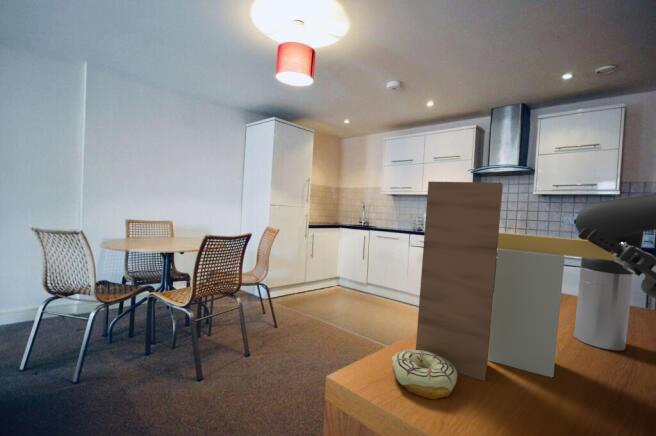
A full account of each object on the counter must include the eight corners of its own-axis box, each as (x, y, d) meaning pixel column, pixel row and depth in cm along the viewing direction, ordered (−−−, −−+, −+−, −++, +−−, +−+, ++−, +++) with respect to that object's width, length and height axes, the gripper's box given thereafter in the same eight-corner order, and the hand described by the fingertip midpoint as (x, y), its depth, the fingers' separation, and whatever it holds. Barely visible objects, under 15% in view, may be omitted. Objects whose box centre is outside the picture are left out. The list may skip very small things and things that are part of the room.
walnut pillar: (423, 347, 66) (436, 184, 65) (487, 364, 60) (502, 186, 59) (414, 360, 60) (428, 181, 59) (484, 381, 54) (501, 182, 53)
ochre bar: (485, 245, 67) (487, 231, 67) (612, 258, 57) (614, 242, 57) (484, 246, 64) (486, 231, 64) (617, 260, 54) (619, 243, 54)
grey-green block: (490, 345, 69) (498, 245, 68) (548, 360, 64) (558, 252, 63) (488, 360, 62) (497, 249, 61) (553, 377, 57) (564, 256, 56)
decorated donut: (393, 397, 48) (394, 373, 48) (389, 362, 59) (390, 342, 59) (464, 406, 47) (466, 382, 47) (447, 369, 58) (448, 349, 57)
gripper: (688, 267, 56) (591, 215, 62) (739, 282, 43) (611, 216, 50) (655, 299, 58) (565, 246, 65) (694, 321, 46) (578, 253, 52)
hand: (585, 233), depth 57 cm, fingers open, 8 cm apart
